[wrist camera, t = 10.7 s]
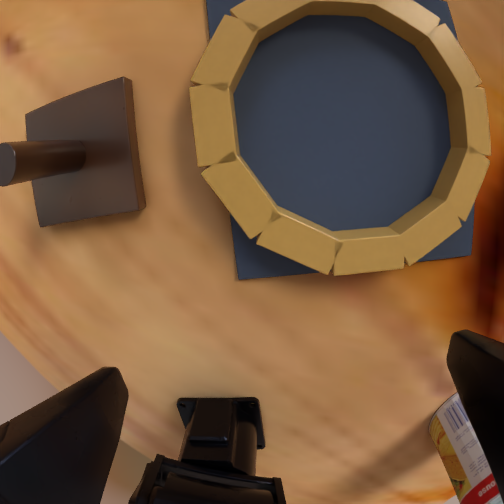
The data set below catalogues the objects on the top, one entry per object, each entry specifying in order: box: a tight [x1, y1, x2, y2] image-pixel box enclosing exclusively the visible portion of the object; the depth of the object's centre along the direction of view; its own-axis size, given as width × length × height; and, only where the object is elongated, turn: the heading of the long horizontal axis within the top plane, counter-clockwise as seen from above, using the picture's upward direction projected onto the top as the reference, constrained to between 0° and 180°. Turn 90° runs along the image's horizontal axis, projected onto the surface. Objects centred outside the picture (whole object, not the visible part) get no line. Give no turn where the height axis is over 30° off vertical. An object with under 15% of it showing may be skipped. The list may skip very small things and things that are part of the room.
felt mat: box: [206, 0, 474, 280], centre depth 16 cm, size 18×16×1 cm
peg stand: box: [0, 77, 146, 227], centre depth 14 cm, size 8×8×8 cm
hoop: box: [189, 0, 491, 276], centre depth 15 cm, size 17×17×2 cm
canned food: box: [429, 392, 503, 504], centre depth 17 cm, size 8×8×12 cm
